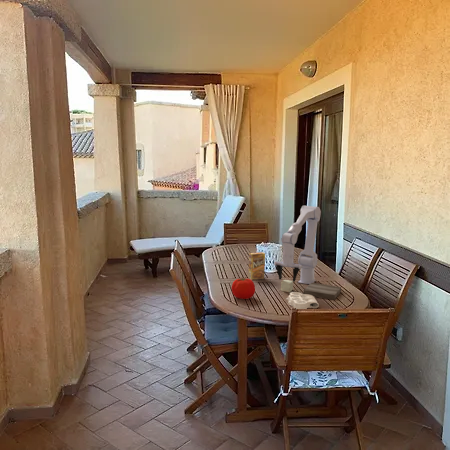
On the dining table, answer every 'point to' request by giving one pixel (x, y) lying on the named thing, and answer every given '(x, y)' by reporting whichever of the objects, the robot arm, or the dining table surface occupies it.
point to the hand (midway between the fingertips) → (287, 280)
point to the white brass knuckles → (302, 300)
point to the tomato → (243, 288)
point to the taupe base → (322, 291)
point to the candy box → (256, 265)
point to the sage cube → (287, 285)
